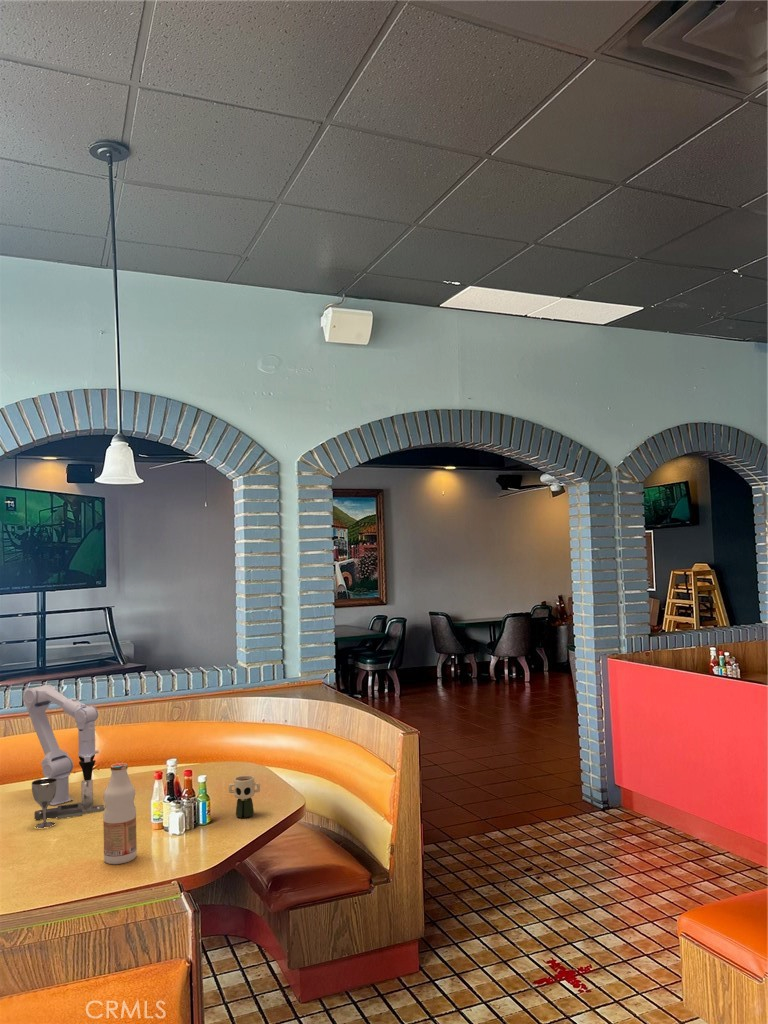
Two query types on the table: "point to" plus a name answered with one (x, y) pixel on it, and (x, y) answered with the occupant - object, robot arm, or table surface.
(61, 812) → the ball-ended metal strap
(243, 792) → the character mug
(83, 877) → the table surface
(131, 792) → the fruit juice
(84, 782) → the steel pin
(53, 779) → the wine glass
